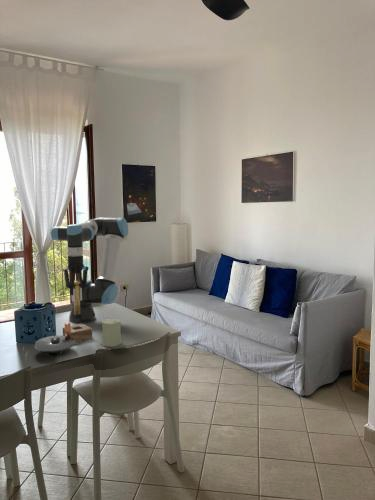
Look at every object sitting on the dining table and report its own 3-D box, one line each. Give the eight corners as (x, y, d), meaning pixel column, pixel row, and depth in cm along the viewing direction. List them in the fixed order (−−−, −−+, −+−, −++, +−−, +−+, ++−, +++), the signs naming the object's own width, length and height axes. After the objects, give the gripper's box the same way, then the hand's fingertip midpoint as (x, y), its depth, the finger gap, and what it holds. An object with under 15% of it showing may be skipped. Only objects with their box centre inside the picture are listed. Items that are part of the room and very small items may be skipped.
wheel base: (46, 351, 191) (46, 345, 191) (59, 348, 195) (58, 342, 195) (52, 355, 187) (51, 348, 187) (64, 352, 191) (64, 345, 191)
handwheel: (49, 355, 178) (48, 336, 177) (27, 345, 189) (26, 328, 188) (83, 343, 192) (82, 326, 191) (60, 335, 203) (59, 319, 202)
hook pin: (71, 313, 210) (70, 281, 208) (79, 312, 213) (78, 280, 211) (75, 315, 207) (74, 282, 205) (83, 313, 210) (82, 281, 208)
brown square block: (62, 336, 212) (62, 327, 211) (82, 332, 219) (82, 323, 218) (72, 342, 204) (72, 332, 203) (92, 337, 211) (92, 328, 210)
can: (112, 348, 197) (111, 323, 195) (98, 344, 202) (97, 320, 200) (124, 342, 204) (124, 319, 203) (111, 339, 209) (110, 316, 208)
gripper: (63, 257, 198) (65, 304, 201) (93, 254, 208) (94, 299, 212) (57, 255, 204) (58, 301, 207) (86, 253, 214) (87, 296, 217)
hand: (76, 300), depth 209 cm, fingers closed on hook pin, 3 cm apart
